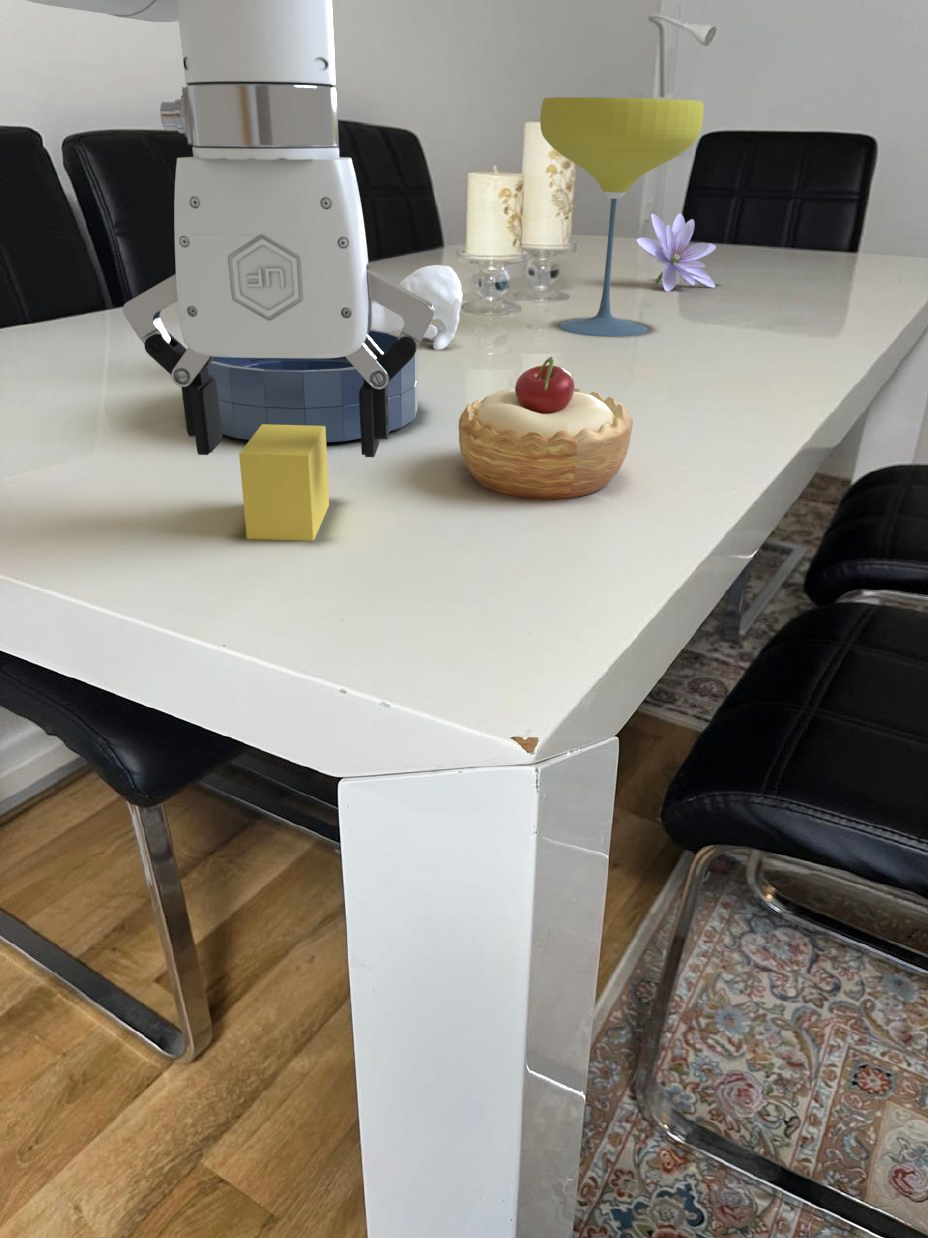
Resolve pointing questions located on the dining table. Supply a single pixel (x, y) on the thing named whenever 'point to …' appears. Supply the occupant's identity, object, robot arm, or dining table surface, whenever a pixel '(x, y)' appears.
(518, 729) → the dining table surface
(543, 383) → the pastry
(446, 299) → the white lumpy piece
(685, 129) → the cocktail glass
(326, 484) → the sponge
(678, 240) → the water lily
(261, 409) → the bowl
